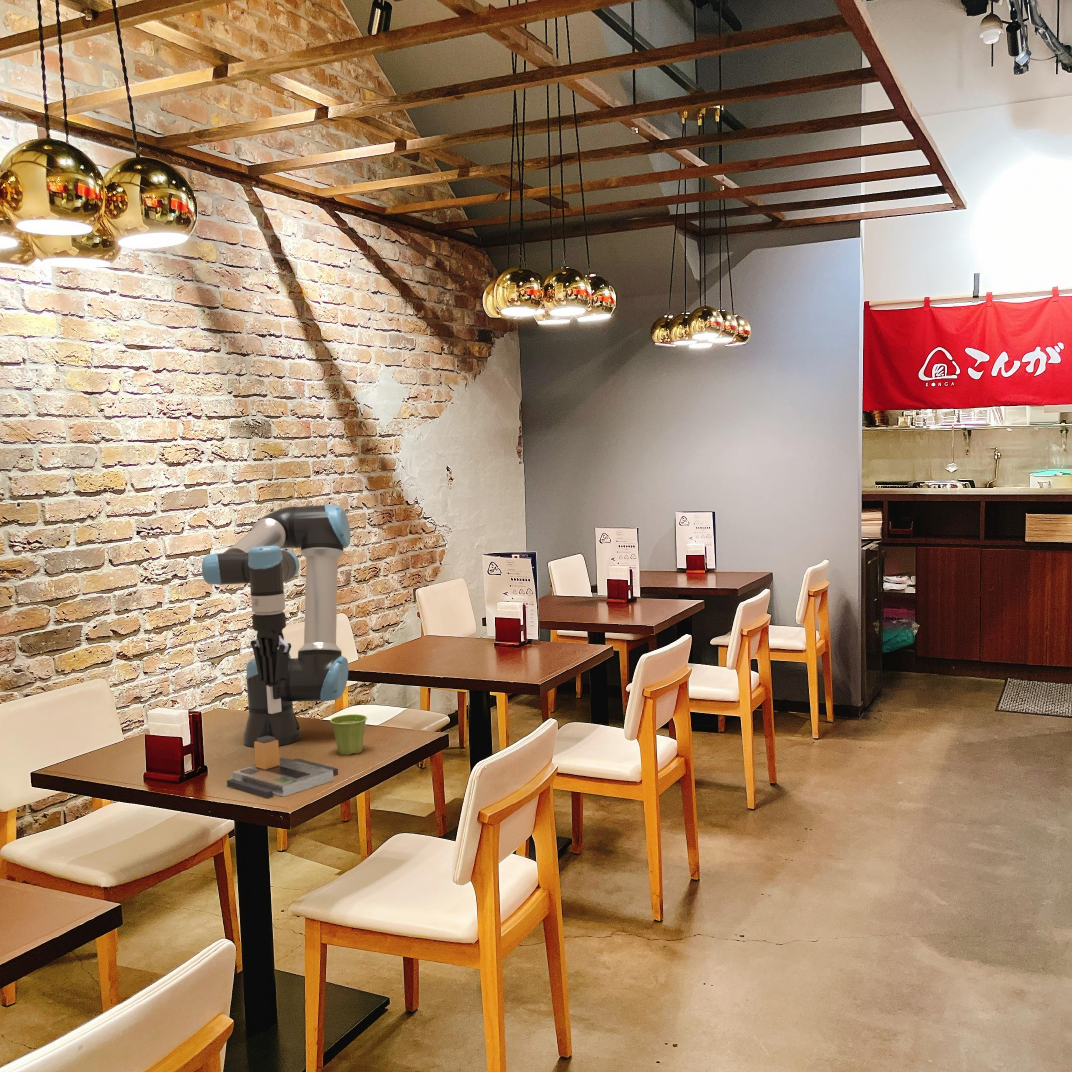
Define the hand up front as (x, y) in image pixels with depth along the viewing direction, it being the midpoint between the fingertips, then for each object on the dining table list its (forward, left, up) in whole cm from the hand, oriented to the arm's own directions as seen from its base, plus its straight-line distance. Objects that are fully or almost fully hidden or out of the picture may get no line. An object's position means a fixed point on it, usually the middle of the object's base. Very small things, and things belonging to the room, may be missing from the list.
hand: (274, 712), depth 235 cm
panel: (+2, 0, -16) cm, 16 cm away
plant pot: (-4, +25, -16) cm, 30 cm away
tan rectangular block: (-4, 0, -14) cm, 14 cm away
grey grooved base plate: (+2, 0, -16) cm, 16 cm away
